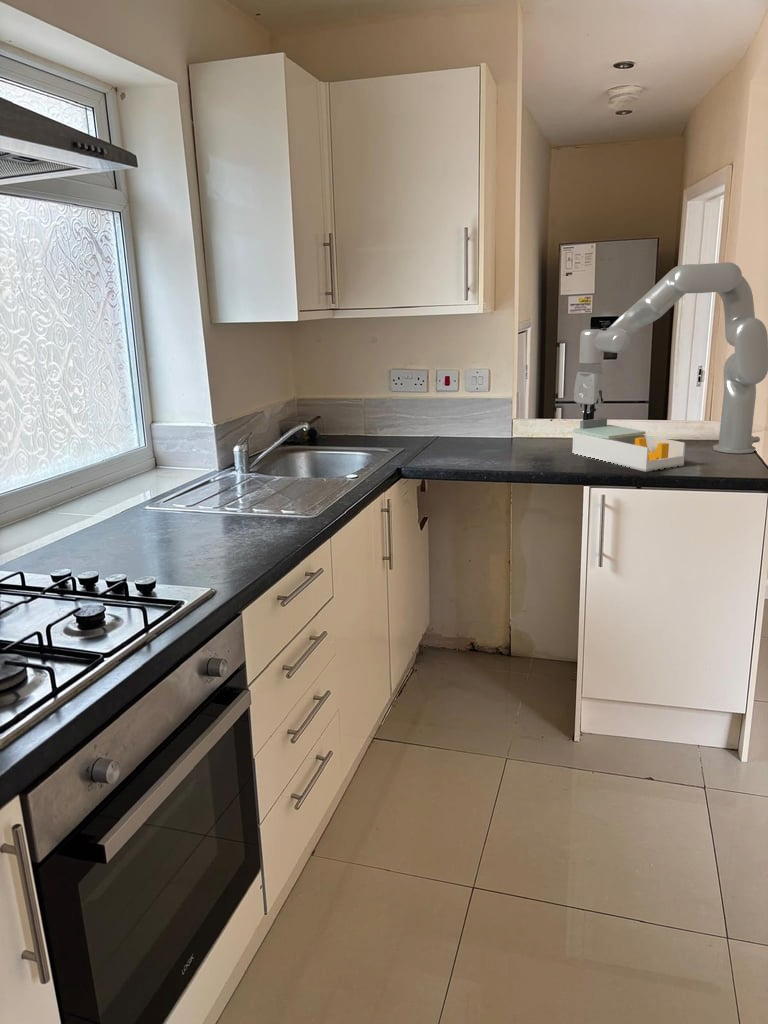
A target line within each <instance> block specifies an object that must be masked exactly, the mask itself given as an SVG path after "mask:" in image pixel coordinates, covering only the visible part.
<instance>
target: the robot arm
mask: <svg viewBox="0 0 768 1024" xmlns="http://www.w3.org/2000/svg"><path fill="white" fill-rule="evenodd" d="M707 293H717V294H718V295H719V297H720V298H721V300H722V303H723V304H722V305H723V312H724V313H723V314H724V334H725V340H726V343H728V345H730V346H732V347H734V353H732V354H731V355H730V356H728V357H727V359H726V361H725V362H724V366H723V397H722V405H721V406H722V407H721V414H720V415H721V417H720V426H719V438H718V443H716V444H714V445H713V446H712V448H713V450H714V451H716V452H720V453H725V454H726V453H728V454H752V453H754V451H755V452H756V447H755V446H753V444H754V443H759V442H760V441H761V438H760V437H759V436H754V435H753V425H754V415H755V408H756V406H755V405H756V398H757V384H759V383H761V382H762V381H764V380H765V378H766V377H767V375H768V331H767V327H766V326H765V323H764V322H763V321H761V320H760V319H758V317H757V318H756V313H755V312H756V311H755V304H754V296H753V291H752V287H751V286H750V284H749V282H748V281H747V279H746V278H745V277H744V276H743V273H742V270H741V268H740V267H739V265H737V264H736V263H734V262H730V261H729V262H728V261H727V262H725V261H724V262H714V263H712V262H711V263H698V264H697V263H693V264H690V263H688V264H681V265H677V266H675V267H673V268H672V269H671V270H669V271H668V272H667V273H666V274H665V275H664V276H663V277H662V278H661V279H660V280H659V281H657V283H656V284H655V285H654V286H653V287H652V288H651V289H649V290H648V292H646V293H645V294H644V295H643V296H642V297H641V298H640V299H638V301H636V302H635V303H634V304H633V305H632V306H631V307H630V308H628V309H627V310H626V311H625V312H624V313H623V314H621V315H620V316H619V317H618V318H617V319H616V320H615V321H614V322H613V323H612V324H611V325H609V327H607V328H606V330H603V329H599V328H597V329H596V328H595V329H594V328H590V329H583V330H582V331H581V332H580V336H579V337H580V338H579V339H580V340H579V358H578V359H579V360H578V372H576V377H575V381H574V389H573V401H574V402H575V403H576V406H579V407H580V408H581V412H582V413H583V414H582V420H591V419H595V413H596V411H597V409H602V406H603V405H602V404H603V403H604V400H605V378H604V377H605V376H604V373H603V369H604V353H614V354H617V353H618V354H620V353H622V352H625V351H626V350H627V349H629V347H630V345H631V338H632V337H633V336H634V335H635V334H637V333H638V331H640V330H641V329H642V328H644V327H645V326H647V325H649V324H651V323H653V322H655V321H657V320H658V319H660V318H662V317H663V315H665V313H667V312H668V311H669V309H671V308H672V307H673V306H674V305H675V304H676V303H677V302H678V301H680V300H681V299H682V298H683V297H684V296H685V295H686V294H707Z"/></svg>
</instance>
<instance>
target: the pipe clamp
mask: <svg viewBox="0 0 768 1024" xmlns="http://www.w3.org/2000/svg"><path fill="white" fill-rule="evenodd" d="M635 445H638V446H642V447H647V444H646V438H642V437H641V438H635ZM647 448H648V447H647ZM668 452H669V443H658V445H657V448H656V450H655V452H654V453H652V452H651V451H650V450H649V455H648V461H650V460H657V459H664V458H668Z"/></svg>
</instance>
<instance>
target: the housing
mask: <svg viewBox="0 0 768 1024" xmlns="http://www.w3.org/2000/svg"><path fill="white" fill-rule="evenodd" d="M641 437H642V438H646V444H647V447H648V448H647V447H642V446H638V445H635V438H641ZM658 443H669V452H668V458H664V459H657V460H650V461H648V455H649V450H650V451H651V452H652V453H654V452H655V450H656V448H657V445H658ZM571 451H572V453H574V454H573V455H576V454H578V455H577V456H580V455H582V456H581V457H584V456H586V457H585V458H588V457H591V458H590V459H592V458H595V459H594V460H596V459H599V460H598V461H600V460H603V461H602V462H604V461H606V462H605V463H608V462H611V463H610V464H613V463H614V464H613V465H617V464H618V465H617V466H621V465H622V466H621V467H625V466H626V467H625V468H629V467H630V468H629V469H634V470H637V471H641V472H645V473H647V472H653V470H654V471H659V470H658V469H660V470H665V469H664V468H666V469H672V468H671V467H673V468H678V467H677V466H679V467H684V465H685V454H686V442H684V441H678V440H673V439H668V438H662V437H658V436H653V435H648V434H642V435H634V436H627V437H619V438H611V439H607V438H602V437H597V436H593V435H588V434H583V433H578V432H574V431H573V432H572V450H571ZM572 453H571V454H572Z"/></svg>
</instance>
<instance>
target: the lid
mask: <svg viewBox="0 0 768 1024" xmlns="http://www.w3.org/2000/svg"><path fill="white" fill-rule="evenodd" d="M579 422H580V423H579V428H573V432H576V433H581V434H586V435H590V436H595V437H600V438H605V439H611V438H619V437H627V436H634V435H642V434H643V435H647V434H646V431H645V430H639V429H636V428H635V429H633V428H629V427H623V426H618V425H613V424H608V418H607V417H600V418H594V419H591V420H583V419H582V420H580V421H579Z"/></svg>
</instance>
